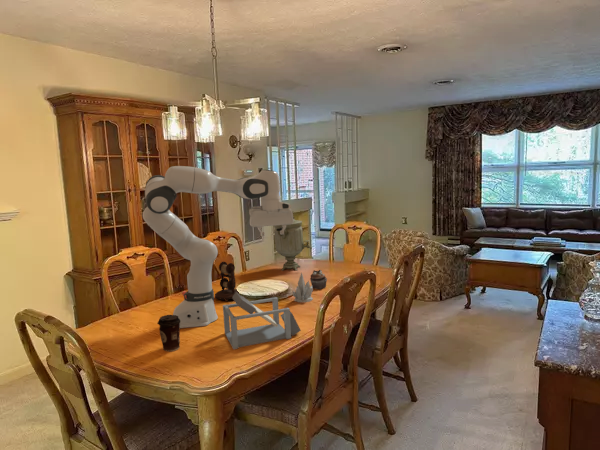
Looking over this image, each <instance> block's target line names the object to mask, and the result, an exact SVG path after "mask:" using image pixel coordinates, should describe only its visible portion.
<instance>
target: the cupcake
mask: <svg viewBox="0 0 600 450" xmlns="http://www.w3.org/2000/svg"><path fill="white" fill-rule="evenodd" d="M309 280H310V284H311V285H310V286H312V287H313V290H323V289H326V286H327V280H328V278H327V277H326V275H325V273H323V271H322V270H321V269H319V270H313V271H312V274H310V279H309Z"/></svg>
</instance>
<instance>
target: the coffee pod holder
mask: <svg viewBox="0 0 600 450" xmlns="http://www.w3.org/2000/svg"><path fill="white" fill-rule="evenodd" d="M218 269H219V271H220V274H219V276H220V277H221V280H220V282H219V286H220V288H221V290H219V291H217V292H215V294H214V299H217V300H225V302H226V303H227V302H228V300H233V298H232V297H233V295H234V294H235V293H236V292H237V293H238V294H239V292H238V291H237V289H236V285H237V281H236V275H235V272H234V271H235V269H236V267H235V264H234V263H232V262H229V263H227V262H226V261H221V262H220V263H219V265H218ZM239 295H240V294H239Z"/></svg>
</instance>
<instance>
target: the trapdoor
mask: <svg viewBox="0 0 600 450" xmlns="http://www.w3.org/2000/svg"><path fill="white" fill-rule="evenodd" d="M232 298H233V299H232V300H233V301H234V303H235V304H237V305H238V306H237V307H239V308H241V309H242V310H244V311H245V312H247V314H254V313H260V312H264V310H262V309H260V308H259V307H257V306H256V305H255V304H251V303H250V302H249V299H247V298H245V297H244V296H241V295H239V294H238V293H237V292H236V293H235V294H234V295H233V297H232ZM259 317H260V318H262V319H263V320H265V321H266V322H268V324H272V325H274V326H275V327H277V326H278V325H277V324H276V322H275V321H274V320H273V317H271V316H270V314H269V315H263V316H259Z"/></svg>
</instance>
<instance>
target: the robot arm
mask: <svg viewBox="0 0 600 450" xmlns="http://www.w3.org/2000/svg"><path fill="white" fill-rule="evenodd" d="M280 190H281V182H280V177H279V173H278V171H276V170H273V169H261V171H260V172H258V173H256V174H255V175H253V176H250V177H241V178H239V179H233V178H232V179H231V178H226V177H219V176H217V175H215V174H213V173H212V172H211V171H209V170H207V169H204V168H200V167H194V166H187V165H186V166H184V165H175V166H174V165H173V166H170V167H168V169H167V170H166V172H165V174H164V175H161V174H157V175H152V176H151V177H149V179H148V180H147V181H146V184H145V188H144V197H145V204H146V207H145V208H144V210H143V212H142V219H143V221H144V222H145V223H146V225H147V226H148V227H149V228H150V229H151V230H153V232H155V233H156V234H157V235H158V236H159V237H160V238H162V239H163V240H165V242H167V243H168V244H170V245H171V246H172V248H174V250H175V251H176V252H177V253H178V254H179V255H180V256H181V257H183V258H184V259H185V260H188V261H190V266H189V271H188V273H187V275H186V280H187V291H186V290H184V291H182V294H181V295H182V296H183V300H182V301H181V302H180V303H179V304H177V306H175V308H174V310H173V313H172V315H176V316H178V318H179V319H180V329H185V328H195V327H204V326H205V327H206V326H208V325H209V324H211V323H212V322H215V321H216V320H217V319H219V317H218V314H217V312H216V306H215V302H214V300H215V294H214V292H215V291H214V288H213V281H212V279H213V278H212V271H213V270H212V269H213V265H214V261H215V260H216V259H217V256H218V253H219V252H218V251H219V250H218V247H217V245H216V244H215V243H213V242H212V241H211V240H208V239H205V238H200V237H198V236H196V235H195V234H194V233H193V232H192V231H191V230H190V228H189V226H188V225H187V224H186V223H185V222H184V221H183V220H182V219H181V218H179V217H178V215H176V214H175V213H173V212H172V211H171V210H170V209H171V208H172V207H173V204H174V203H175V200H176V199H177V196H178V195H177V194H178V193H187V194H188V193H189V194H197V195H198V194H201V195H203V194H209V193H212V192H221V193H222V192H224V193H229V194H230V193H231V194H234V195H236V196H237V197H239V198H241V199H243V200H244V199H245V200H256V199H260V201H261V202H260V205H257V206H254V205H253V206H251V207H250V208H249V209H248V214H249V225H250V227H251V228H257V229H258V231H259V233H260V237H265V232H264V231H262V228H263V227H270V226H271V227H274V226H275V225H282V227H283V228H282V230H281V231H280V235H284V230H285V228H286V225H287V224H292V223H293V222H294V220H293V217H294V214H293V213H294V212H293V213H292V211H293V210H292V205H291V204H290V203H288V202H285V201H282V200H281V195H280Z"/></svg>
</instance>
